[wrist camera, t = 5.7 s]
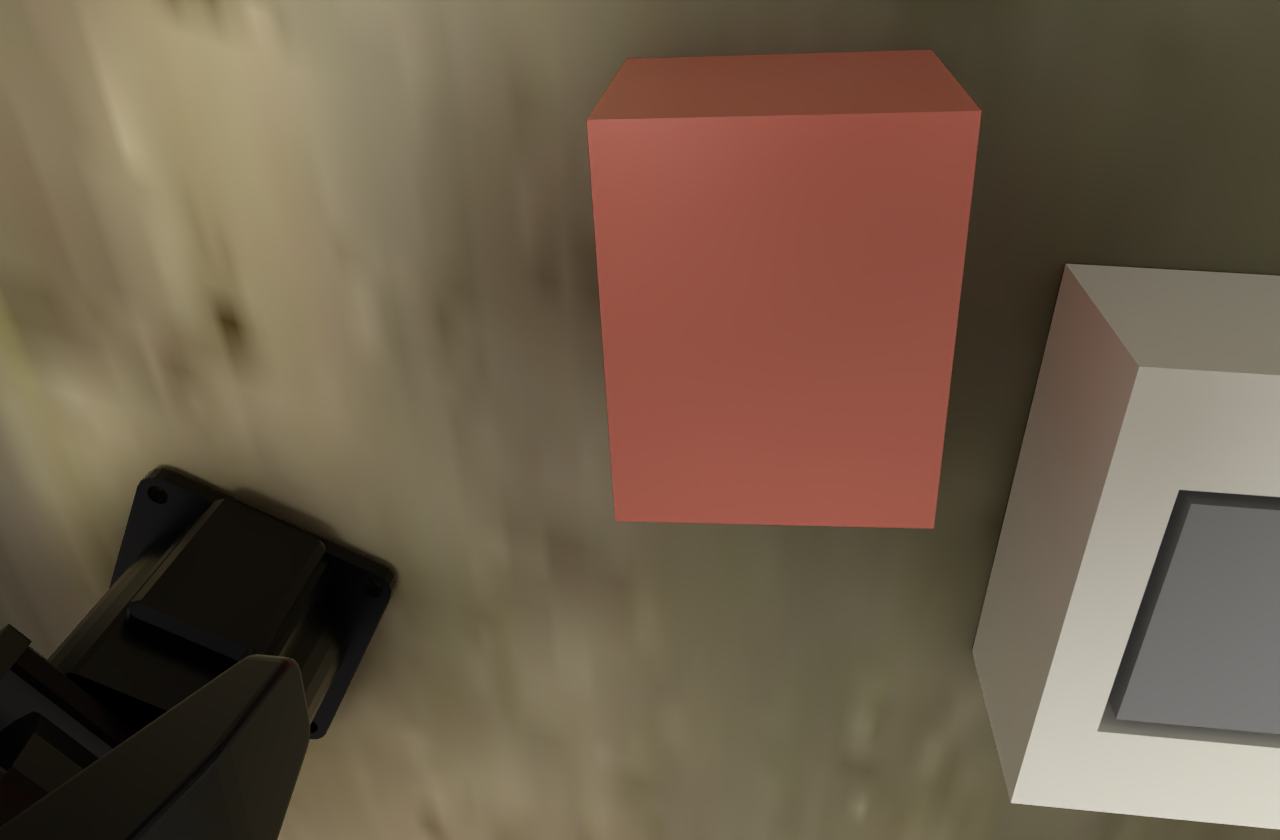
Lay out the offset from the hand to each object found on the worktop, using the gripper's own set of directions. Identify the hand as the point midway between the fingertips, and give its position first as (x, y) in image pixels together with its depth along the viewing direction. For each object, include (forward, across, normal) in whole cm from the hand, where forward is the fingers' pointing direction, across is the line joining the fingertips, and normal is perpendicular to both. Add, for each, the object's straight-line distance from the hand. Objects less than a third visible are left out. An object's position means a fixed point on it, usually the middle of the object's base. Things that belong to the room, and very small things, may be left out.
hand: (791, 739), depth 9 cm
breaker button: (+12, -9, +5) cm, 16 cm away
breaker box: (+13, -9, +5) cm, 17 cm away
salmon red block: (+13, 0, 0) cm, 13 cm away
